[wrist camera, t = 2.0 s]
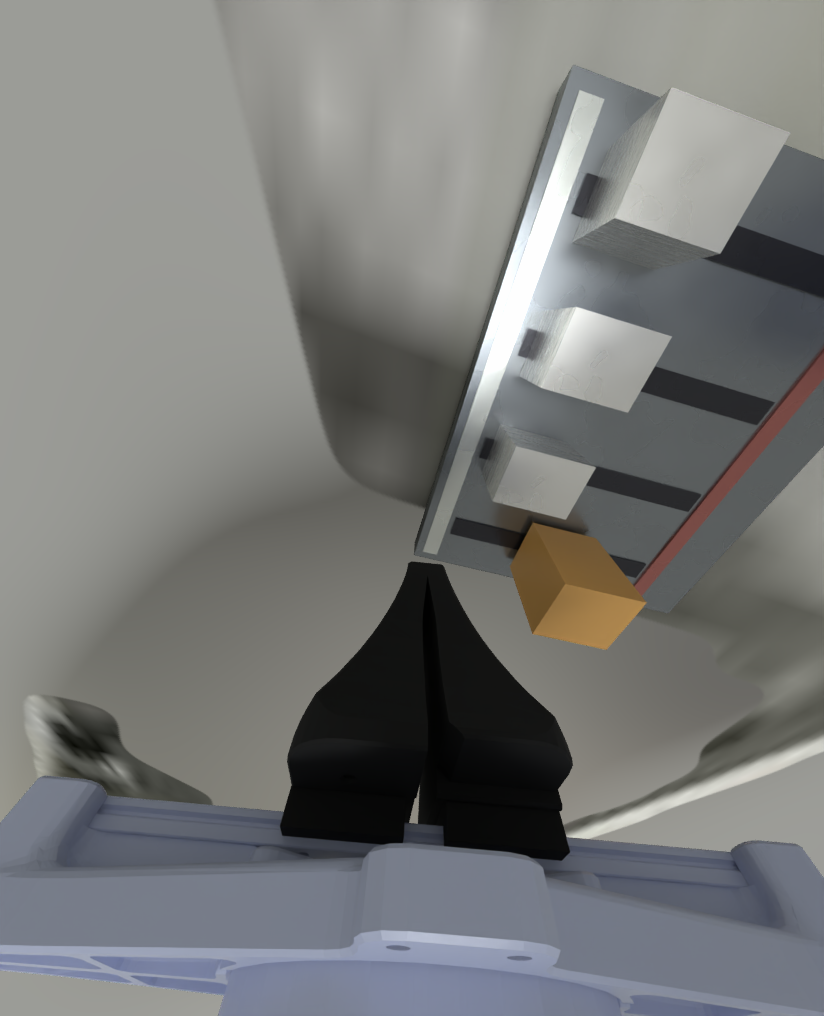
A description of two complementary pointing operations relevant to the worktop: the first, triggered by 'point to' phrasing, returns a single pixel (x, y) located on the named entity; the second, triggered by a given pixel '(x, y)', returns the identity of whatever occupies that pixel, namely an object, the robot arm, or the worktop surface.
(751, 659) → the worktop surface
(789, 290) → the breaker panel
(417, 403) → the worktop surface
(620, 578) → the toggle
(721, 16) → the worktop surface
